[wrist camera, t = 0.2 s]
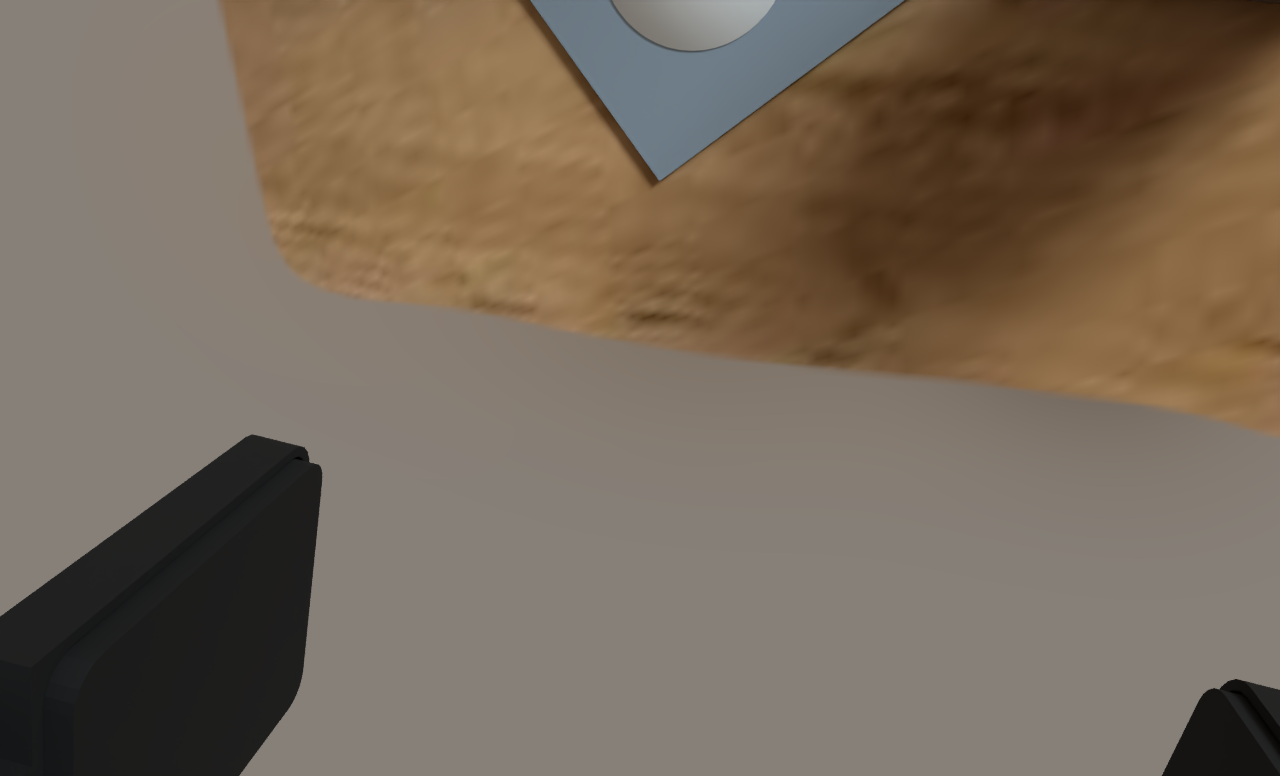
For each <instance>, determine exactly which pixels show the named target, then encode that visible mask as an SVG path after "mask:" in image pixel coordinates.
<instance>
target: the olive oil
mask: <svg viewBox="0 0 1280 776" xmlns="http://www.w3.org/2000/svg"><path fill="white" fill-rule="evenodd" d="M1249 1H1256V2H1265V3H1280V0H1249Z"/></svg>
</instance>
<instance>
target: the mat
mask: <svg viewBox="0 0 1280 776" xmlns="http://www.w3.org/2000/svg"><path fill="white" fill-rule="evenodd" d="M530 1H531V2H532V3H533V5H534V6H535V8H536V9H537V10H538V12H539V13H540V15H541V16H542V17H543V19H544V20H545V22H546V23H547V24H548V26H549V27H550V29H551V30H552V31H553V33H554V34H555V36H556V37H557V38H558V40H559V41H560V43H561V44H562V45H563V47H564V48H565V50H566V51H567V52H568V54H569V55H570V57H571V58H572V59H573V61H574V62H575V64H576V65H577V66H578V68H579V69H580V71H581V72H582V73H583V75H584V76H585V78H586V79H587V80H588V82H589V83H590V85H591V86H592V87H593V89H594V90H595V92H596V93H597V94H598V96H599V97H600V99H601V100H602V101H603V103H604V104H605V106H606V107H607V108H608V110H609V111H610V113H611V114H612V115H613V117H614V118H615V120H616V121H617V122H618V124H619V125H620V127H621V128H622V129H623V131H624V132H625V134H626V135H627V136H628V138H629V139H630V141H631V142H632V143H633V145H634V146H635V148H636V149H637V150H638V152H639V153H640V155H641V156H642V157H643V159H644V160H645V162H646V163H647V164H648V166H649V167H650V169H651V170H652V171H653V173H654V174H655V176H656V177H657V178H658V180H659V181H661V180H662V179H663V178H665V177H666V176H667V175H669V174H670V173H671V172H673V171H674V170H675V169H677V168H678V167H679V166H681V165H682V164H684V163H685V162H686V161H688V160H689V159H690V158H692V157H693V156H694V155H696V154H697V153H698V152H700V151H701V150H703V149H704V148H705V147H707V146H708V145H709V144H711V143H712V142H713V141H715V140H716V139H717V138H719V137H720V136H721V135H723V134H724V133H726V132H727V131H728V130H730V129H731V128H732V127H734V126H735V125H736V124H738V123H739V122H740V121H742V120H743V119H744V118H746V117H747V116H749V115H750V114H751V113H753V112H754V111H755V110H757V109H758V108H759V107H761V106H762V105H763V104H765V103H766V102H767V101H769V100H770V99H772V98H773V97H774V96H776V95H777V94H778V93H780V92H781V91H782V90H784V89H785V88H786V87H788V86H789V85H790V84H792V83H793V82H795V81H796V80H797V79H799V78H800V77H801V76H803V75H804V74H805V73H807V72H808V71H809V70H811V69H812V68H813V67H815V66H816V65H818V64H819V63H820V62H822V61H823V60H824V59H826V58H827V57H828V56H830V55H831V54H832V53H834V52H835V51H836V50H838V49H839V48H841V47H842V46H843V45H845V44H846V43H847V42H849V41H850V40H851V39H853V38H854V37H855V36H857V35H858V34H859V33H861V32H862V31H864V30H865V29H866V28H868V27H869V26H870V25H872V24H873V23H874V22H876V21H877V20H878V19H880V18H881V17H883V16H884V15H885V14H887V13H888V12H889V11H891V10H892V9H893V8H895V7H896V6H897V5H899V4H900V3H901V2H903V1H904V0H530Z"/></svg>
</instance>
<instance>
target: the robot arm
mask: <svg viewBox="0 0 1280 776" xmlns="http://www.w3.org/2000/svg"><path fill="white" fill-rule="evenodd" d="M321 486H322V470H321V467H320V466H319V465H317V464H314V463H310V462H309V456H308V452H307V450H306V449H305V448H304V447H301V446H297V445H293V444H289V443H285V442H281V441H277V440H273V439H269V438H265V437H261V436H257V435H250V436H248V437H245V438H244V439H243V440H241V441H240V442H239V443H237V444H236V445H235V446H233V447H232V448H230V449H229V450H228V451H227V452H225V453H224V454H222V455H221V456H219V457H218V458H217V459H215V460H214V461H213V462H211V463H210V464H208V465H207V466H206V467H204V468H203V469H202V470H200V471H199V472H197V473H196V474H195V475H193V476H192V477H191V478H189V479H188V480H187V481H185V482H184V483H182V484H181V485H180V486H178V487H177V488H176V489H174V490H173V491H171V492H170V493H169V494H167V495H166V496H165V497H163V498H162V499H161V500H159V501H158V502H157V503H155V504H154V505H152V506H151V507H150V508H148V509H147V510H145V511H144V512H143V513H141V514H140V515H139V516H137V517H136V518H135V519H133V520H132V521H130V522H129V523H128V524H126V525H125V526H124V527H122V528H121V529H119V530H118V531H117V532H115V533H114V534H113V535H111V536H110V537H109V538H107V539H106V540H104V541H103V542H102V543H100V544H99V545H98V546H97V547H95V548H94V549H92V550H91V551H89V552H88V553H87V554H85V555H84V556H82V557H81V558H80V559H78V560H77V561H76V562H74V563H73V564H72V565H70V566H69V567H67V568H66V569H65V570H63V571H62V572H61V573H59V574H58V575H57V576H55V577H54V578H52V579H51V580H50V581H48V582H47V583H46V584H44V585H43V586H42V587H40V588H39V589H37V590H36V591H35V592H33V593H32V594H30V595H29V596H28V597H26V598H25V599H24V600H22V601H21V602H19V603H18V604H17V605H16V606H14V607H13V608H11V609H10V610H9V611H7V612H6V613H5V614H3V615H2V616H0V776H239V775H240V774H241V772H242V771H243V770H244V768H245V767H246V766H247V764H248V763H249V761H250V760H251V759H252V757H253V756H254V755H255V753H256V752H257V751H258V749H259V748H260V747H261V745H262V744H263V743H264V741H265V740H266V738H267V737H268V736H269V735H270V733H271V732H272V731H273V729H274V728H275V726H276V725H277V724H278V722H279V721H280V720H281V718H282V717H283V716H284V714H285V713H286V712H287V710H288V709H289V707H290V706H291V704H292V702H293V700H294V698H295V696H296V694H297V691H298V689H299V686H300V683H301V679H302V673H303V667H304V656H305V646H306V637H307V626H308V616H309V607H310V597H311V586H312V577H313V567H314V557H315V547H316V536H317V527H318V517H319V507H320V497H321ZM1162 776H1280V690H1278V689H1274V688H1270V687H1266V686H1262V685H1258V684H1254V683H1250V682H1246V681H1242V680H1238V679H1235V680H1231V681H1228V682H1227V683H1226V684H1224V685H1223V686H1222V687H1221V688H1220V690H1219V689H1215V688H1213V689H1210V690H1208V691H1207V692H1205V693H1204V694H1203V695H1202V697H1201V698H1200V700H1199V702H1198V704H1197V706H1196V708H1195V710H1194V712H1193V714H1192V716H1191V718H1190V720H1189V722H1188V724H1187V726H1186V728H1185V730H1184V732H1183V734H1182V736H1181V738H1180V740H1179V742H1178V744H1177V746H1176V748H1175V750H1174V753H1173V754H1172V756H1171V758H1170V760H1169V762H1168V765H1167V767H1166V768H1165V771H1164V772H1163V775H1162Z"/></svg>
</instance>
